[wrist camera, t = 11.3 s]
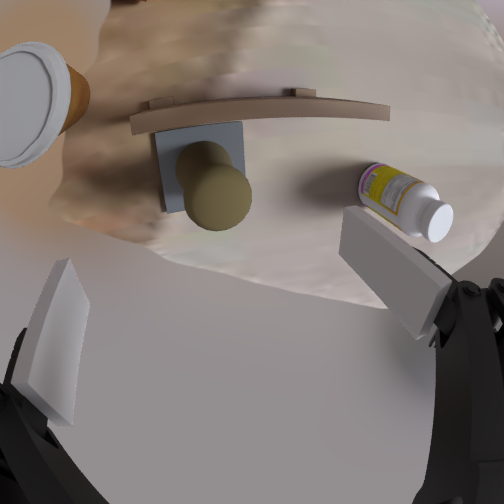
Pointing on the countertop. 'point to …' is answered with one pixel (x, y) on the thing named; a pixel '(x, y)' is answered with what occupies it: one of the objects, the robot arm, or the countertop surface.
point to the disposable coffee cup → (36, 101)
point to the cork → (212, 186)
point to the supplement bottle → (405, 202)
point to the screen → (251, 110)
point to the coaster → (179, 139)
